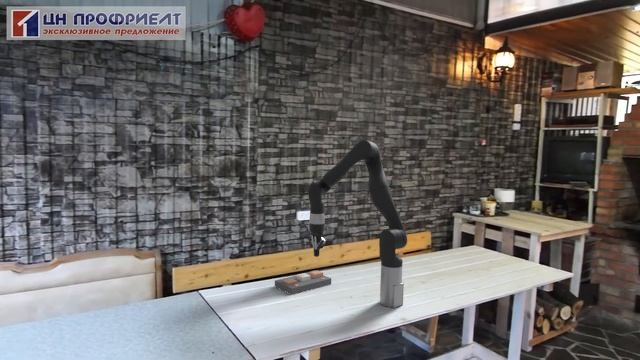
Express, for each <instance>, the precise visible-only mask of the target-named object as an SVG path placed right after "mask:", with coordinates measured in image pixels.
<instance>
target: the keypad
mask: <svg viewBox="0 0 640 360" xmlns="http://www.w3.org/2000/svg"><path fill="white" fill-rule="evenodd" d="M304 273H305V274H308V275H309V272H304ZM290 278H292V279H294V280H296V275H292V276H287V277H284V278H280V279H275V280H274V287H275V286H276V287H275V288H277V287H278V288H277V289H279V288H280V289H279V290H281V289H282V290H281V291H283V290H284V291H283V292H285V291H286V292H285V293H287V292H288V293H287V294H289V293H290V294H289V295H291V296H293V295H296V293H297V294H300V293H304V292H308V291H311V289H312V290H314V289H318V288H319V289H320V288H322V287H327V286H330V285H332V278H331V277H329V276H326V275H324V274H323V277H321V278H317V279H314V278H312V277H311V280H308V281H304V282H301V281H299V280H296V281H297V283H296V284H292V285H287V284H284V283H283V280H286V279H290ZM307 290H308V291H307ZM303 291H304V292H303ZM292 294H293V295H292Z"/></svg>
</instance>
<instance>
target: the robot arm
mask: <svg viewBox="0 0 640 360" xmlns="http://www.w3.org/2000/svg"><path fill="white" fill-rule="evenodd" d="M381 158H382V157H381V152H380V148H379V147H378V145H377V144H376V143H375V142H372V141H370V140H368V139H361V140H359V141H358V142H356V143H355V145H354V146H353V147H352V148H351V149H350V150H349V151H348V152H347V154H346V155H345V156H344V157H343V158H342V159H341V160H340V161H339V162H338V163H337V164H336V165H334V166H333V167H332V168H331V169H329V170H328V171H327V172H325V173H324V174H323V176H322V178H321V179H320V180H318V181H315V182H311V183H310V185H309V186H308V189H307V193H308V194H307V195H308V200H309V201H308V202H309V205H310V207H309V209H310V210H309V228H308V230H309V232H310V235H308V236H307V237H306V238H307V240H308V243H309V245H310V248H312V249H313V256H314V257H316V258H318V257H319V256H320V249H323V248H324V246H325V245H326V243H327V239H325V238H324V232H325V228H326V227H325V225H326V224H325V223H326V221H325V220H326V218H325V203H324V202H323V201H322V196H323V195H326V194H327V193H328V192H329V191H330V190H331V189H332V188H333V186H335V185H336V184H338V183H339V182H341V180H343V179H344V178H345V177H346V175H347V174H348V173H349V171H350V169H352V167H353V166H355V165H356V164H358V163H360V162H361V161H364V163H365V165H366V168H367V172H368V192H369V196H370V199H371V202H372V204H373V206H374V207H375V208H376V210H377V211H378V212H379V213H380V215H382V216H383V218H384V219H385V222H386V223H387V225H388V228H386V229H383V230H381V232H380V234H379V238H378V239H379V240H378V241H379V242H378V243H379V244H378V245H379V248H378V249H379V252H378V253H379V254H378V255H379V258H380V284H379V288H380V289H379V304H381V305H382V306H384V307H387V308H388V307H389V308H393V309H394V308H397V307H400V306H403V305H404V292H405V291H404V289H405V288H404V285H405V284H404V283H403V263H404V262H403V259H402V258H401V257H399V256H397V255H396V250H400V249H404V248H405V247H406V246H407V245H408V236H407V232H406V230H405V228H404V225H403V223H402V221H401V218H400V215H399V213H398V210H397V208H396V205H395V204H396V203H395V202H394V199H393V194H392V191H391V187H390V185H389V182H388V179H387V177H386V174H385V171H384V167H383V164H382V163H383V162H382V159H381Z"/></svg>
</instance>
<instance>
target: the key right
mask: <svg viewBox="0 0 640 360" xmlns="http://www.w3.org/2000/svg"><path fill="white" fill-rule="evenodd" d="M308 273H309V275H310V276H311V277H312V278H314V279H317V278H321V277H323V275H324V272H322V271H319V270H318V269H317V270H311V271H309V272H308Z"/></svg>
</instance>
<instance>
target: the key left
mask: <svg viewBox="0 0 640 360" xmlns="http://www.w3.org/2000/svg"><path fill="white" fill-rule="evenodd" d="M283 283H284V284H287V285H292V284H296V283H297V281H296V280H294V279H292V278H290V279H286V280H283Z"/></svg>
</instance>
